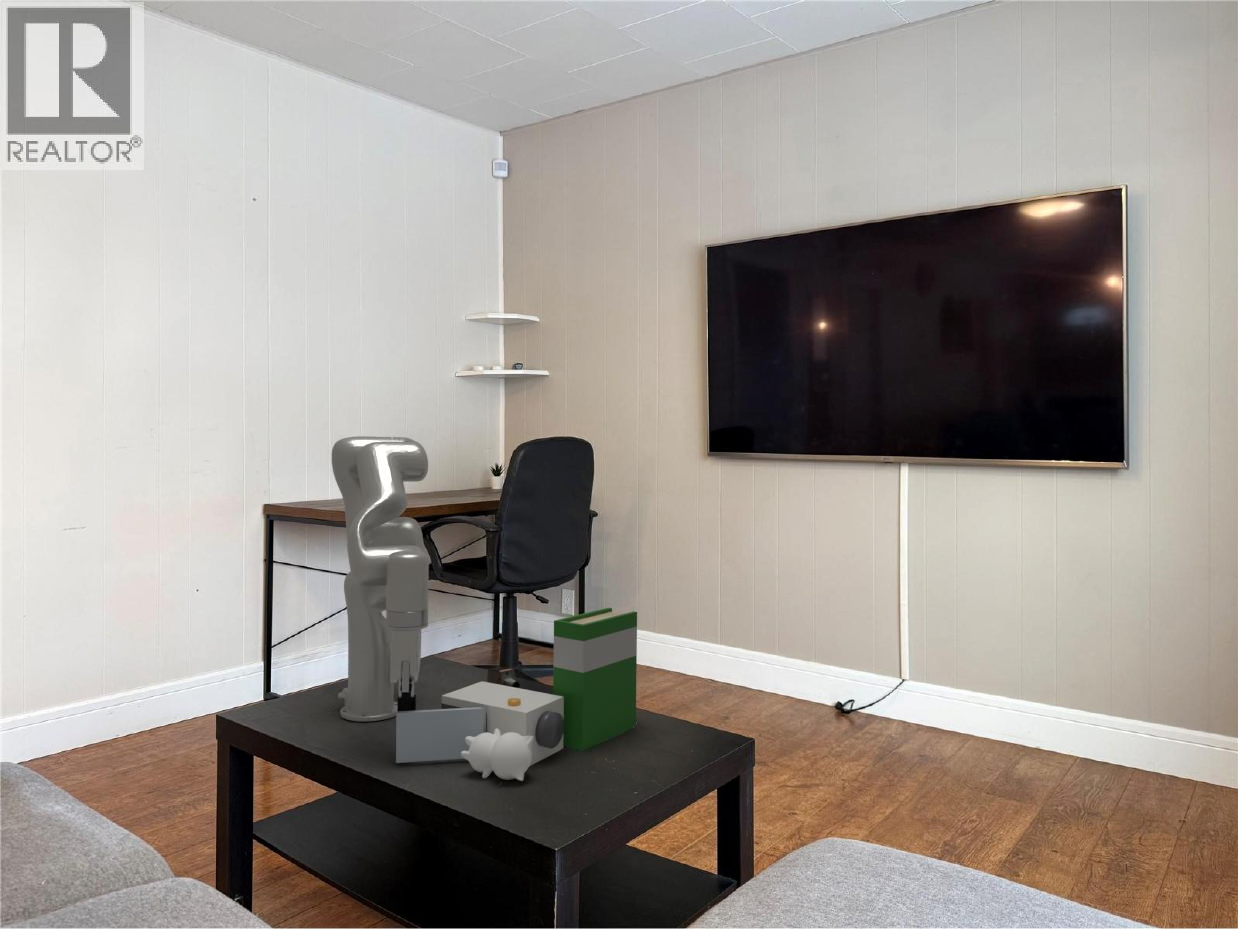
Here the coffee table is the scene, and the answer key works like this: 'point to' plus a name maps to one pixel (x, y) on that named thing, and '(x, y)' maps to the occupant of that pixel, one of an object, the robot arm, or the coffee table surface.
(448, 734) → the side door
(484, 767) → the cat figurine
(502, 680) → the electronic device
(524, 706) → the white rectangular box
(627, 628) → the hardback book
